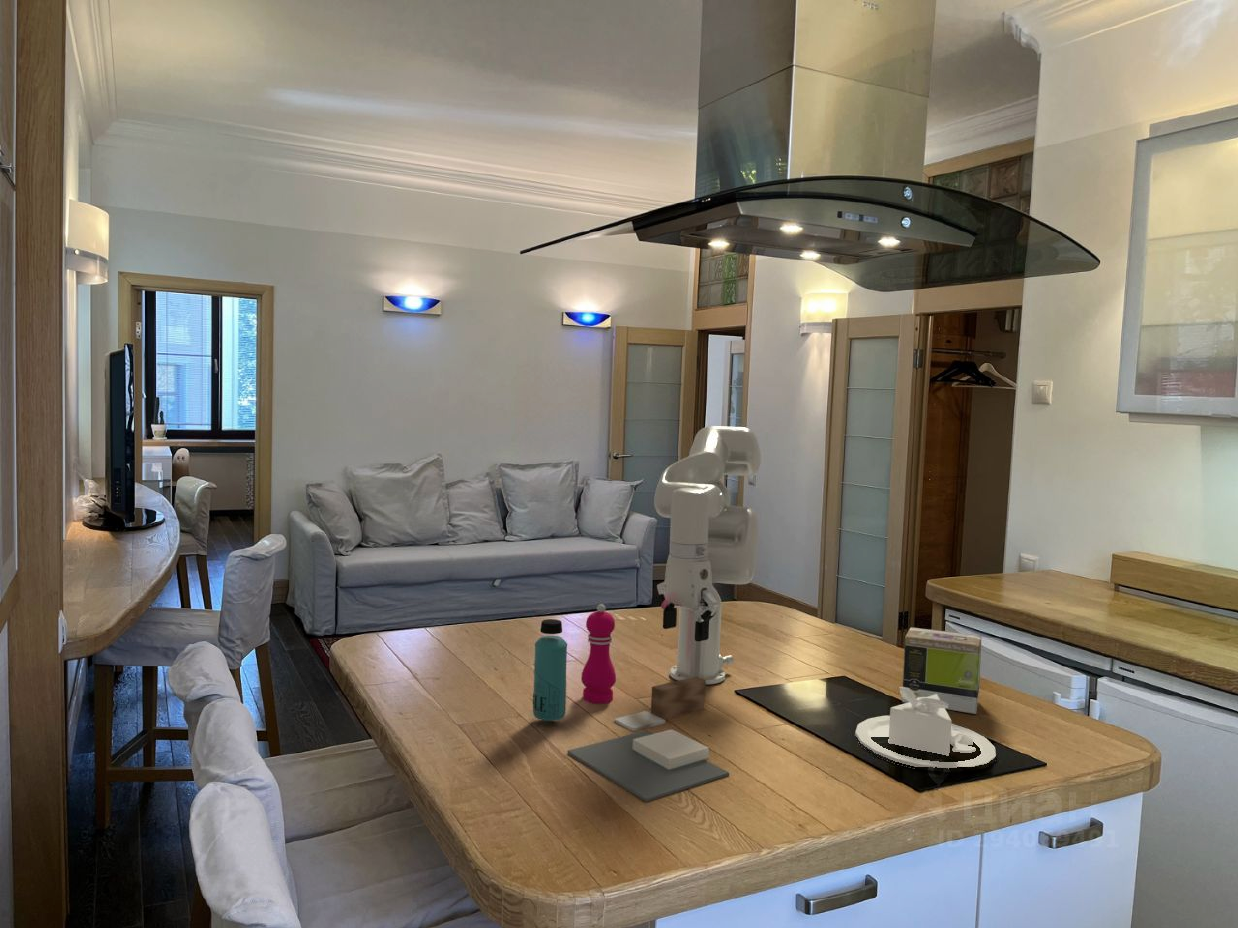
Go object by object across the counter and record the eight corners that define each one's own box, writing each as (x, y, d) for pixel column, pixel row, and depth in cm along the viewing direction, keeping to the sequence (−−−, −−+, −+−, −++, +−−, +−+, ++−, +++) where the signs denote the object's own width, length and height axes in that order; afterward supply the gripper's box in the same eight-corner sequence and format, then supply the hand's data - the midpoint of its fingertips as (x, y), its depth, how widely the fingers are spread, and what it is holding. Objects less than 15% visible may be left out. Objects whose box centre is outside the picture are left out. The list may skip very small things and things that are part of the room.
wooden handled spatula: (689, 702, 181) (691, 674, 180) (709, 711, 176) (711, 682, 176) (613, 721, 169) (615, 691, 168) (633, 731, 164) (634, 700, 163)
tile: (671, 729, 159) (632, 739, 154) (708, 747, 151) (669, 758, 146) (671, 739, 159) (632, 750, 154) (708, 758, 151) (668, 770, 146)
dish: (983, 787, 146) (988, 721, 145) (837, 751, 159) (841, 690, 158) (1005, 741, 167) (1009, 683, 166) (875, 712, 180) (878, 659, 179)
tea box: (978, 701, 188) (983, 634, 187) (976, 716, 179) (981, 645, 178) (906, 689, 195) (910, 624, 194) (900, 703, 185) (904, 635, 184)
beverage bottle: (570, 719, 169) (574, 618, 167) (557, 731, 163) (560, 626, 161) (540, 714, 171) (543, 614, 169) (525, 725, 165) (528, 622, 163)
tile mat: (647, 732, 164) (647, 729, 163) (729, 775, 146) (729, 772, 146) (567, 753, 153) (567, 750, 153) (645, 801, 135) (646, 798, 135)
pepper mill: (611, 706, 177) (614, 609, 175) (576, 702, 178) (580, 606, 177) (618, 694, 184) (621, 601, 183) (585, 691, 185) (588, 599, 184)
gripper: (732, 556, 168) (728, 642, 170) (674, 541, 182) (671, 620, 184) (704, 560, 164) (700, 648, 166) (646, 544, 178) (643, 626, 179)
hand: (685, 633), depth 175 cm, fingers open, 9 cm apart
